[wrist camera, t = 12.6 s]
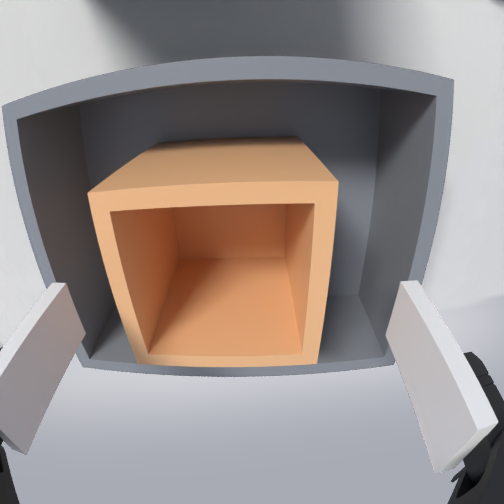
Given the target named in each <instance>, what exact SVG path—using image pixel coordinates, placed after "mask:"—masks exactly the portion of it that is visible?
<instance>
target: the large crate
mask: <svg viewBox="0 0 504 504" xmlns="http://www.w3.org/2000/svg"><path fill="white" fill-rule="evenodd" d="M453 93H454V80H453V79H450V78H446V77H442V76H438V75H433V74H429V73H424V72H420V71H415V70H410V69H405V68H399V67H394V66H388V65H381V64H375V63H368V62H360V61H351V60H342V59H330V58H317V57H297V56H240V57H220V58H207V59H195V60H186V61H177V62H169V63H162V64H155V65H149V66H143V67H137V68H131V69H126V70H121V71H116V72H111V73H107V74H102V75H98V76H94V77H90V78H86V79H82V80H78V81H74V82H71V83H67V84H64V85H60V86H57V87H54V88H51V89H47V90H44V91H41V92H38V93H35V94H32V95H29V96H27V97H24V98H21V99H18V100H16V101H13V102H11V103H8V104H5V105H3V106H2V111H3V120H4V128H5V136H6V142H7V148H8V154H9V160H10V165H11V170H12V175H13V180H14V184H15V189H16V193H17V197H18V201H19V205H20V209H21V213H22V216H23V220H24V224H25V227H26V230H27V234H28V237H29V240H30V243H31V247H32V250H33V253H34V256H35V259H36V261H37V264H38V267H39V270H40V273H41V275H42V278H43V281H44V283H45V286H46V288H48V287H49V286H50V285H51V284H52V283H66V284H67V287H68V290H69V293H70V295H71V298H72V301H73V303H74V306H75V308H76V311H77V313H78V316H79V318H80V321H81V323H82V326H83V328H84V330H85V333H86V334H85V336H84V338H83V340H82V341H81V343H80V345H79V347H78V349H77V351H76V352H75V353H76V355H77V357H78V359H79V361H80V362H81V364H82V366H83V367H87V368H95V369H103V370H112V371H121V372H133V373H145V374H161V375H178V376H212V377H214V376H215V377H216V376H217V377H241V376H242V377H245V376H246V377H247V376H278V375H279V376H280V375H298V374H314V373H327V372H337V371H347V370H357V369H365V368H374V367H381V366H388V365H393V364H394V362H395V358H394V355H393V353H392V350H391V348H390V345H389V343H388V341H387V338H386V336H385V335H386V331H387V328H388V325H389V322H390V318H391V315H392V311H393V308H394V304H395V300H396V297H397V293H398V289H399V285H400V281H415V280H418V282H419V283H420V285H421V284H422V281H423V277H424V274H425V270H426V266H427V263H428V259H429V255H430V251H431V247H432V243H433V238H434V234H435V230H436V225H437V220H438V215H439V210H440V205H441V200H442V194H443V188H444V182H445V176H446V169H447V162H448V154H449V145H450V136H451V125H452V112H453ZM234 137H299V138H300V139H301V141H302V142H303V143H304V144H305V145H306V146H307V147H308V148H309V149H310V150H311V151H312V152H313V153H314V154H315V156H316V157H317V158H318V159H319V160H320V161H321V162H322V163H323V164H324V165H325V167H326V168H327V169H328V170H329V171H330V172H331V173H332V174H333V176H334V177H335V178H336V179H337V180H338V181H339V184H338V198H337V210H336V222H335V232H334V242H333V252H332V261H331V270H330V278H329V286H328V294H327V301H326V308H325V315H324V322H323V329H322V335H321V342H320V348H319V354H318V360H317V364H307V365H290V366H266V367H187V366H163V365H146V364H137V362H136V359H135V356H134V354H133V351H132V348H131V346H130V343H129V340H128V338H127V335H126V332H125V329H124V326H123V323H122V321H121V318H120V315H119V312H118V309H117V305H116V302H115V299H114V296H113V293H112V290H111V286H110V283H109V279H108V276H107V273H106V269H105V265H104V262H103V258H102V254H101V251H100V247H99V243H98V239H97V235H96V231H95V226H94V222H93V218H92V213H91V209H90V204H89V199H88V194H87V193H88V192H89V191H90V190H92V189H93V188H94V187H96V186H97V185H98V184H100V183H101V182H102V181H104V180H105V179H106V178H108V177H109V176H110V175H112V174H113V173H114V172H116V171H117V170H118V169H120V168H121V167H123V166H124V165H125V164H127V163H128V162H130V161H131V160H133V159H134V158H135V157H137V156H138V155H140V154H141V153H143V152H144V151H146V150H147V149H149V148H150V147H152V146H153V145H155V144H156V143H161V142H172V141H184V140H197V139H213V138H234Z"/></svg>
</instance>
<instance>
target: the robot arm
mask: <svg viewBox="0 0 504 504" xmlns="http://www.w3.org/2000/svg"><path fill="white" fill-rule="evenodd" d="M85 334H86V333H85V330H84V328H83V326H82V323H81V321H80V318H79V316H78V313H77V311H76V308H75V306H74V303H73V301H72V298H71V295H70V293H69V290H68V287H67V284H66V283H52V284H51V285H50V286H49V287H48V288H47V290H46V291H45V292H44V293H43V295H42V296H41V297H40V298H39V300H38V301H37V302H36V303H35V305H34V306H33V307H32V308H31V310H30V311H29V312H28V314H27V315H26V316H25V318H24V319H23V320H22V322H21V323H20V324H19V326H18V327H17V328H16V330H15V331H14V332H13V334H12V335H11V337H10V338H9V339H8V341H7V342H6V344H5V345H4V346H3V347H1V348H0V504H19V500H18V497H17V494H16V492H15V488H14V484H13V481H12V477H11V474H10V469H9V465H8V462H7V457H6V453H5V450H4V448H3V447H2V446H1V444H2V442H3V441H4V442H6V443H7V445H8V446H10V447H11V448H12V449H14V450H16V451H18V452H20V453H23V454H25V455H27V453H28V451H29V448H30V446H31V444H32V441H33V439H34V437H35V434H36V432H37V429H38V427H39V425H40V423H41V421H42V418H43V416H44V414H45V412H46V410H47V408H48V406H49V403H50V401H51V399H52V397H53V395H54V393H55V391H56V389H57V387H58V385H59V383H60V381H61V379H62V377H63V375H64V373H65V371H66V369H67V367H68V366H69V363H70V361H71V360H72V358H73V356H74V354H75V352H76V351H77V349H78V347H79V345H80V343H81V341H82V340H83V338H84V336H85ZM385 336H386V338H387V341H388V343H389V345H390V348H391V350H392V353H393V355H394V358H395V360H396V363H397V365H398V368H399V371H400V373H401V376H402V378H403V381H404V384H405V386H406V389H407V392H408V395H409V397H410V400H411V403H412V406H413V409H414V411H415V414H416V417H417V420H418V423H419V426H420V429H421V432H422V435H423V438H424V441H425V445H426V448H427V451H428V454H429V457H430V461H431V464H432V468H433V471H434V474H437V473H441V472H443V471H446V470H450V469H453V468H455V467H456V466H457V465H458V464H459V463H460V462H461V461H462V460H463V461H464V464H465V467H464V468H463V469H462V470H461V471H460V472H458V473H457V474H456V475H455V476H454V477H453V479H452V480H451V482H454V481H455V480H457V479H458V478H459V479H458V482H457V484H456V486H455V489H454V491H453V493H452V495H451V497H450V500H449V502H448V504H504V401H503V399H502V397H501V395H500V393H499V391H498V389H497V387H496V386H495V385H494V384H493V383H494V382H493V380H492V378H491V376H489V375H488V371H487V369H486V367H485V366H484V364H483V362H482V361H481V360H480V359H479V358H478V357H477V356H476V355H474V354H473V353H472V352H468V353H463V352H462V350H461V349H460V347H459V345H458V343H457V342H456V340H455V338H454V337H453V335H452V333H451V332H450V330H449V328H448V327H447V325H446V323H445V322H444V320H443V319H442V317H441V315H440V314H439V312H438V311H437V309H436V307H435V306H434V304H433V303H432V301H431V300H430V298H429V297H428V295H427V294H426V292H425V291H424V289H423V288H422V286H421V285H420V283H419V282H418V280H415V281H400V285H399V289H398V293H397V297H396V300H395V304H394V308H393V311H392V315H391V318H390V322H389V325H388V328H387V331H386V335H385Z"/></svg>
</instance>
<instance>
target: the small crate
mask: <svg viewBox="0 0 504 504" xmlns="http://www.w3.org/2000/svg"><path fill="white" fill-rule="evenodd" d="M338 184H339V181H338V180H337V179H336V178H335V177H334V176H333V174H332V173H331V172H330V171H329V170H328V169H327V168H326V167H325V165H324V164H323V163H322V162H321V161H320V160H319V159H318V158H317V157H316V156H315V154H314V153H313V152H312V151H311V150H310V149H309V148H308V147H307V146H306V145H305V144H304V143H303V142H302V141H301V139H300V138H299V137H234V138H213V139H197V140H184V141H172V142H161V143H156V144H155V145H153V146H152V147H150V148H149V149H147V150H146V151H144V152H143V153H141V154H140V155H138V156H137V157H135V158H134V159H133V160H131V161H130V162H128V163H127V164H125V165H124V166H123V167H121V168H120V169H118V170H117V171H116V172H114V173H113V174H112V175H110V176H109V177H108V178H106V179H105V180H104V181H102V182H101V183H100V184H98V185H97V186H96V187H94V188H93V189H92V190H90V191H89V192H88V193H87V194H88V199H89V204H90V209H91V213H92V218H93V222H94V226H95V231H96V235H97V239H98V243H99V247H100V251H101V254H102V258H103V262H104V265H105V269H106V273H107V276H108V279H109V283H110V286H111V290H112V293H113V296H114V299H115V302H116V305H117V309H118V312H119V315H120V318H121V321H122V323H123V326H124V329H125V332H126V335H127V338H128V340H129V343H130V346H131V348H132V351H133V354H134V356H135V359H136V362H137V364H146V365H163V366H187V367H266V366H290V365H307V364H317V360H318V354H319V348H320V342H321V335H322V329H323V322H324V315H325V308H326V301H327V294H328V286H329V278H330V270H331V261H332V252H333V242H334V232H335V222H336V210H337V198H338Z"/></svg>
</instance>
